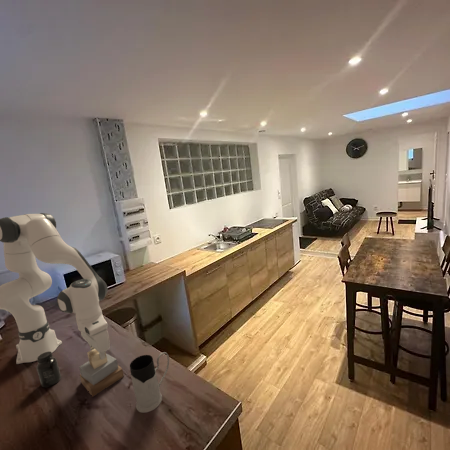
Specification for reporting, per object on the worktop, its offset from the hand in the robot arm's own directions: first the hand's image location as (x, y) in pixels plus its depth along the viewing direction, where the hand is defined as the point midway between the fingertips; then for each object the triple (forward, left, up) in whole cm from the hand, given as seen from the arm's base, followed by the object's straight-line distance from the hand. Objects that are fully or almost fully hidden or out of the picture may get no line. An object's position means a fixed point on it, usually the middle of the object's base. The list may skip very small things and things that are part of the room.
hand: (97, 353), depth 101 cm
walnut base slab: (0, 0, -12) cm, 12 cm away
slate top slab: (0, -1, -8) cm, 8 cm away
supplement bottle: (-18, -14, -11) cm, 25 cm away
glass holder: (+26, +8, -11) cm, 29 cm away
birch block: (0, 0, -4) cm, 4 cm away
